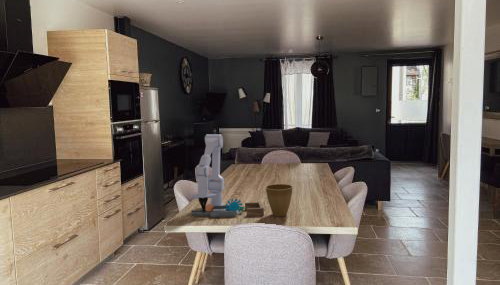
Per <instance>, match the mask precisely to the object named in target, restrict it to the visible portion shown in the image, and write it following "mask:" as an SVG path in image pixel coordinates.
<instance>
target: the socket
mask: <svg viewBox="0 0 500 285" xmlns="http://www.w3.org/2000/svg"><path fill="white" fill-rule="evenodd" d="M225 205H226V204H225ZM225 205H224V204H223V205H219V206H213V209H226V207H227V206H225ZM228 206H229V204H228ZM227 208H229V207H227ZM228 210H229V209H228ZM228 210H226V211H219V212H206V209H205V211H202V209H194V210H193V209H192V210H191V214H190V216H191V217H192V216H197V217H210V218H211V219H219V218H236V217H237V214H236V211H230V210H229V211H228ZM192 218H193V217H192Z"/></svg>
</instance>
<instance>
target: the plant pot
mask: <svg viewBox="0 0 500 285" xmlns="http://www.w3.org/2000/svg"><path fill="white" fill-rule="evenodd" d="M265 192H266V197H267V201H268V204H269V207H270V210H271V212H272V215H273V216H275V217H286V216H287V214H288V211H289V208H290V205H291V201H292V195H293V185H292V184H285V183H279V184H278V183H275V184H269V185H268V184H267V185H266V186H265Z"/></svg>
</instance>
